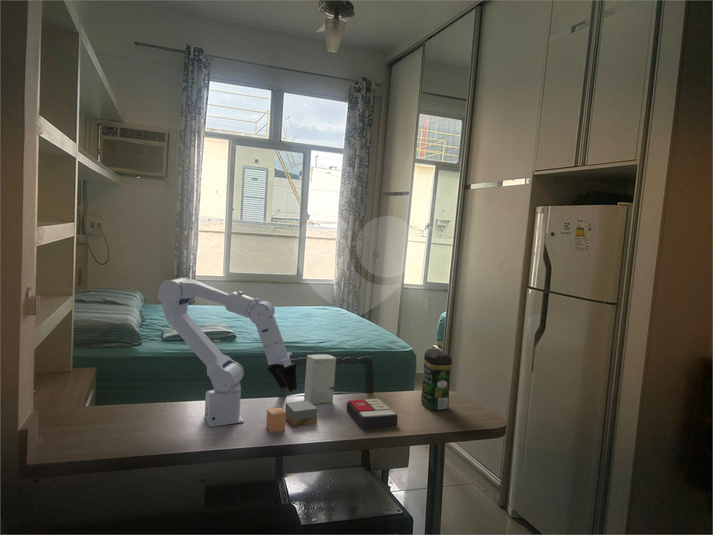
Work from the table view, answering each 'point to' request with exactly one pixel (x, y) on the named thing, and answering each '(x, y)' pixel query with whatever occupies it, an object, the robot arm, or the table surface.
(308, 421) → the tower base slab
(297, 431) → the table surface
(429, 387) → the coffee jar
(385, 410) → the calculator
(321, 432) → the table surface
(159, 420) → the table surface
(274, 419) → the terracotta block
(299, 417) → the tower top slab
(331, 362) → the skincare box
